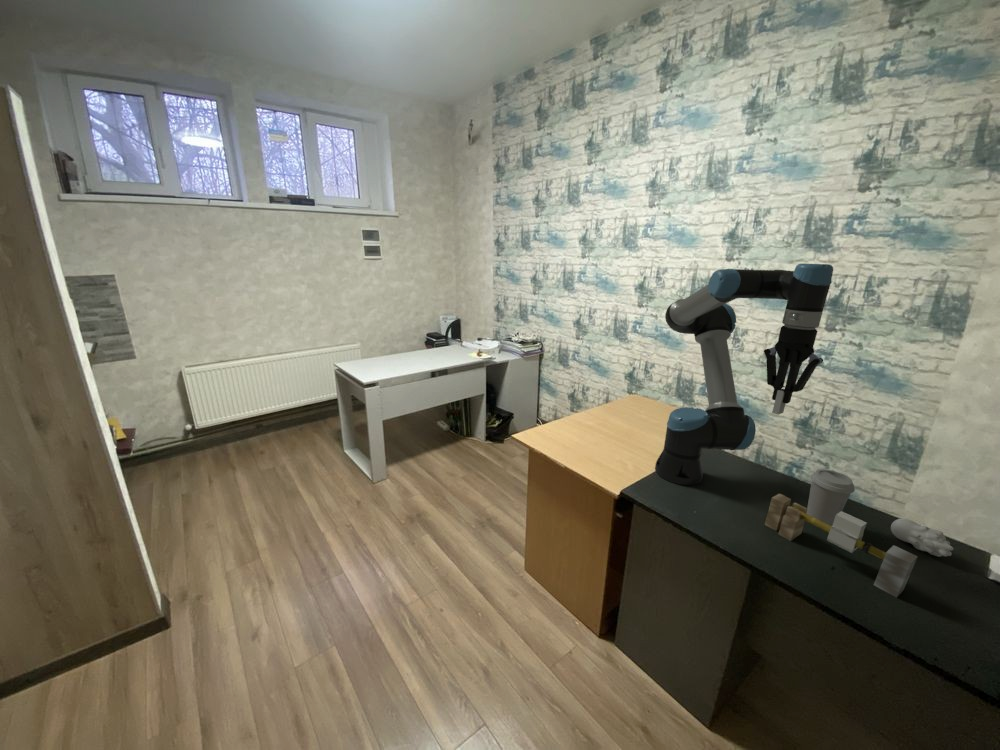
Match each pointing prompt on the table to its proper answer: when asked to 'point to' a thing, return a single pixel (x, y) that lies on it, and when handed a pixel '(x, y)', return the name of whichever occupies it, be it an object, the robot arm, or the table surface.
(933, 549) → the figurine
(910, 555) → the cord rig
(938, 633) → the table surface
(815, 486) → the coffee cup
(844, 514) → the grey stepped block
